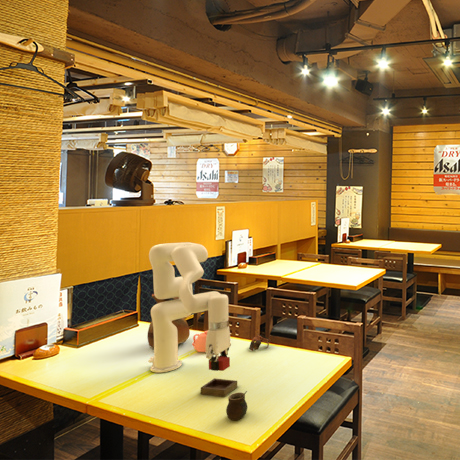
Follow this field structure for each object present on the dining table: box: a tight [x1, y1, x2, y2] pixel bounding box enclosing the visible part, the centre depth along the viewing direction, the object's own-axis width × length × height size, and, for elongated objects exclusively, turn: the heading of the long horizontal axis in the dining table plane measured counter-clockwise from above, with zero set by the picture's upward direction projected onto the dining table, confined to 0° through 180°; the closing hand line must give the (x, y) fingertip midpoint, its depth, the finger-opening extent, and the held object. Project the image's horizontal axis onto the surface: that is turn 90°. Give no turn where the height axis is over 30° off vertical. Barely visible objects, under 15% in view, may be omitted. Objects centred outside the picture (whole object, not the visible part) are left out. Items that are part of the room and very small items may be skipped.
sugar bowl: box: [191, 330, 208, 353], centre depth 196 cm, size 12×14×10 cm
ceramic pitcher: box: [147, 293, 191, 348], centre depth 202 cm, size 20×20×30 cm
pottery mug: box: [249, 334, 270, 352], centre depth 199 cm, size 12×10×8 cm
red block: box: [208, 355, 231, 372], centre depth 152 cm, size 6×4×4 cm
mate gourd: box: [225, 390, 248, 421], centre depth 134 cm, size 7×8×10 cm
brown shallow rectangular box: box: [200, 378, 238, 398], centre depth 153 cm, size 11×8×3 cm
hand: (219, 367), depth 152 cm, fingers closed on red block, 4 cm apart
